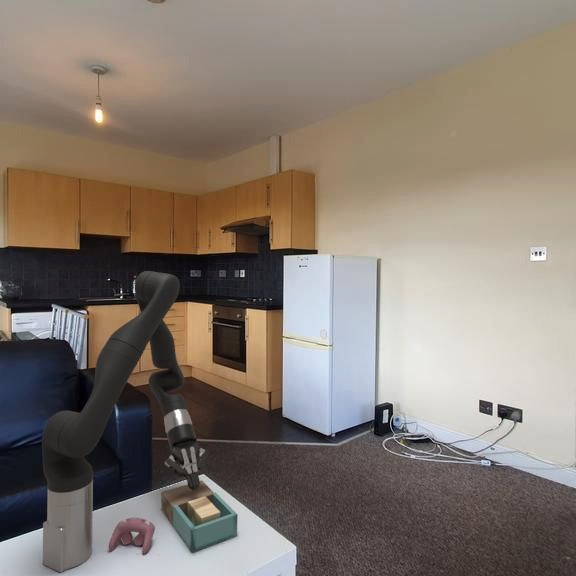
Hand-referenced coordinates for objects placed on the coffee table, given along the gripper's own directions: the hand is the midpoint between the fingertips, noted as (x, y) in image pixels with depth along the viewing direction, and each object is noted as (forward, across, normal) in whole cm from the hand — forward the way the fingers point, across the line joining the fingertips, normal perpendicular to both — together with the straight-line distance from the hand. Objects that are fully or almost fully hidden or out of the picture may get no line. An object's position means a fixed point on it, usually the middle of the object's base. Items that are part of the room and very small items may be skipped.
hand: (195, 488), depth 111 cm
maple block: (+4, 0, +3) cm, 5 cm away
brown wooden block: (+2, 0, +9) cm, 10 cm away
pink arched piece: (+8, -17, +4) cm, 19 cm away
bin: (+10, 0, +2) cm, 10 cm away
